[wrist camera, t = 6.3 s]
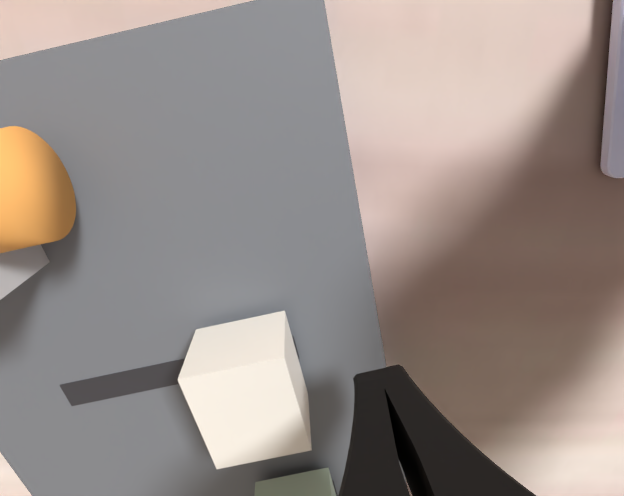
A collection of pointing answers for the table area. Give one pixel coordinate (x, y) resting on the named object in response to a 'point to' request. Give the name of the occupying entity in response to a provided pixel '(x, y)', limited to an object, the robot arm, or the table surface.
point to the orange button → (32, 191)
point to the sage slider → (298, 485)
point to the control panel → (181, 247)
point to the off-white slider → (247, 390)
